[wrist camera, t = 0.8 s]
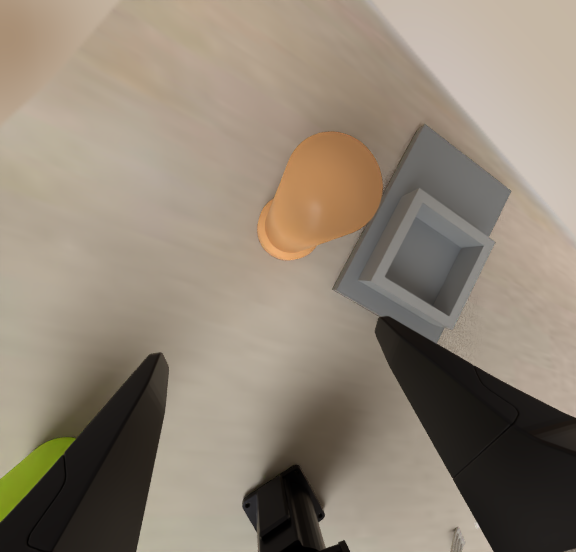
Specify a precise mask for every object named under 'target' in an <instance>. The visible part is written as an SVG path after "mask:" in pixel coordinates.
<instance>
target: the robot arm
mask: <svg viewBox="0 0 576 552" xmlns="http://www.w3.org/2000/svg"><path fill="white" fill-rule="evenodd" d="M375 334H376V337H377V339H378V341H379V344H380V346H381V348H382V351H383V353H384V355H385V357H386V360H387V362H388V364H389V366H390V368H391V370H392V372H393V374H394V375H395V377H396V379H397V381H398V382H399V384H400V386H401V388H402V390H403V391H404V393H405V395H406V397H407V398H408V400H409V402H410V404H411V406H412V407H413V409H414V411H415V413H416V414H417V416H418V418H419V420H420V422H421V423H422V425H423V427H424V429H425V430H426V432H427V434H428V436H429V437H430V439H431V441H432V443H433V445H434V446H435V448H436V450H437V452H438V453H439V455H440V457H441V459H442V461H443V462H444V464H445V466H446V468H447V469H448V471H449V473H450V475H451V477H452V478H453V480H454V482H455V484H456V486H457V488H458V489H459V491H460V493H461V495H462V496H463V498H464V500H465V502H466V503H467V505H468V507H469V509H470V511H471V512H472V514H473V516H474V518H475V519H476V521H477V523H478V525H479V527H480V528H481V530H482V532H483V534H484V535H485V537H486V539H487V541H488V543H489V544H490V546H491V548H492V550H493V551H494V552H576V418H575V417H572V416H570V415H568V414H565V413H563V412H561V411H559V410H557V409H555V408H553V407H551V406H549V405H547V404H545V403H543V402H542V401H540V400H538V399H536V398H534V397H532V396H530V395H528V394H526V393H524V392H522V391H520V390H518V389H516V388H514V387H512V386H510V385H508V384H507V383H505V382H503V381H501V380H499V379H497V378H495V377H494V376H492V375H490V374H488V373H487V372H485V371H483V370H481V369H480V368H478V367H476V366H473V365H472V364H471V363H469V362H467V361H466V360H464V359H462V358H461V357H459V356H457V355H455V354H454V353H452V352H450V351H448V350H447V349H445V348H443V347H442V346H440V345H438V344H436V343H435V342H433V341H431V340H430V339H428V338H426V337H424V336H423V335H421V334H419V333H417V332H416V331H414V330H412V329H411V328H409V327H407V326H405V325H404V324H402V323H400V322H398V321H397V320H395V319H393V318H392V317H390V316H382V317H379V318H378V321H377V325H376V328H375ZM168 375H169V367H168V364H167V362H166V359H165V357H164V355H163V353H161V352H159V353H153V354H150V355H148V356H147V358H146V359H145V360H144V361H143V362H142V363H141V364H140V366H139V367H138V368H137V369H136V370H135V371H134V373H133V374H132V375H131V376H130V377H129V378H128V379H127V381H126V382H125V383H124V384H123V385H122V386H121V387H120V389H119V390H118V391H117V392H116V393H115V394H114V396H113V397H112V398H111V399H110V400H109V401H108V402H107V404H106V405H105V406H104V407H103V408H102V409H101V411H100V412H99V413H98V414H97V415H96V416H95V417H94V419H93V420H92V421H91V422H90V423H89V424H88V425H87V427H86V428H85V429H84V430H83V431H82V432H81V434H80V435H79V436H78V437H77V438H76V439H75V440H74V442H73V443H72V444H71V445H70V446H69V447H68V449H67V450H66V451H65V452H64V455H61V456H60V458H59V459H58V460H57V461H56V462H55V463H54V464H53V466H52V467H51V468H50V469H49V470H48V471H47V472H46V474H45V475H44V476H43V477H42V478H41V479H40V480H39V481H38V482H37V484H36V485H35V486H34V487H33V488H32V489H31V490H30V491H29V492H28V494H27V495H26V496H25V497H24V498H23V499H22V500H21V501H20V502H19V503H18V504H17V505H16V506H15V507H14V508H13V509H12V510H11V511H10V512H9V514H8V515H7V516H6V517H5V518H4V519H3V520H2V521H1V522H0V552H136V550H137V545H138V540H139V535H140V530H141V526H142V521H143V516H144V511H145V506H146V501H147V497H148V492H149V487H150V482H151V477H152V473H153V468H154V463H155V458H156V453H157V448H158V444H159V439H160V434H161V429H162V424H163V420H164V414H165V407H166V397H167V386H168ZM296 470H298V471H297V472H295V471H296ZM246 503H249V504H246ZM242 507H243V509H244V511H245V513H246V514H247V516H248V518H249V520H250V521H251V523H252V525H253V526H254V528H255V530H256V532H257V539H258V552H350V550H349V548H348V546H347V544H346V542H345V540H343V541H340V542H338V544H337V545H334V546H331V547H328V548H326V547H325V544H324V541H323V537H322V534H321V530H320V527H319V523H318V522H320V521H321V520H322V519H323V518H324V517H325V514H324V510H323V508H322V506H321V504H320V502H319V501H318V499H317V497H316V495H315V493H314V491H313V490H312V488H311V486H310V484H309V482H308V480H307V478H306V477H305V475H304V473H303V471H302V469H301V467H300V466H299V465H294V466H293V467H291V468H289V469H288V470H286V471H285V472H283V473H282V474H280V475H279V476H277V477H276V478H274V479H273V480H271V481H270V482H268V483H267V484H265V485H264V486H262V487H260V488H259V489H257V490H256V491H254V492H253V493H251V494H250V495H248V496H247V497H245V498H244V499H243V503H242Z"/></svg>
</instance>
